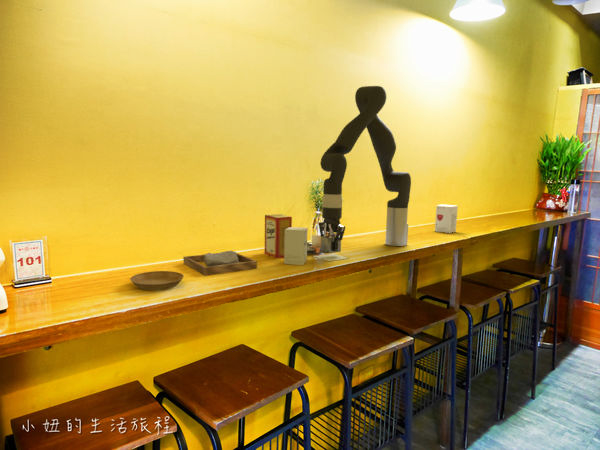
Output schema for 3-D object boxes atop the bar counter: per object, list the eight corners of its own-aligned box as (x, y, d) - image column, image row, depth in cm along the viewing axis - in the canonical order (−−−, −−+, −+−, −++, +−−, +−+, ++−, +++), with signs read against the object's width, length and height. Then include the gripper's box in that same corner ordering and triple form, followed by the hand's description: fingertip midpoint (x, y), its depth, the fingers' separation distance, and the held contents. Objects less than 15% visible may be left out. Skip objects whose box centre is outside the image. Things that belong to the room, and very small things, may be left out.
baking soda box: (291, 256, 164) (291, 215, 161) (276, 258, 160) (277, 216, 158) (278, 252, 171) (279, 213, 169) (264, 253, 168) (264, 214, 166)
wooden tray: (232, 257, 159) (232, 251, 159) (256, 268, 144) (257, 261, 144) (183, 263, 148) (183, 256, 148) (204, 275, 133) (204, 268, 133)
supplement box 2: (434, 231, 235) (435, 205, 232) (440, 230, 241) (442, 204, 239) (450, 233, 229) (452, 206, 227) (456, 231, 236) (458, 205, 233)
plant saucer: (155, 276, 132) (154, 268, 131) (194, 282, 126) (193, 274, 126) (118, 289, 118) (118, 280, 118) (160, 296, 113) (160, 286, 112)
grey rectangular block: (336, 249, 167) (336, 234, 166) (342, 251, 164) (343, 236, 163) (318, 252, 162) (318, 236, 161) (324, 253, 159) (325, 238, 158)
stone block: (240, 271, 148) (235, 259, 156) (241, 258, 146) (235, 247, 155) (206, 274, 144) (203, 262, 153) (206, 261, 142) (202, 250, 151)
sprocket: (332, 249, 176) (332, 234, 175) (315, 254, 164) (315, 238, 164) (303, 245, 184) (303, 230, 183) (285, 250, 172) (285, 234, 171)
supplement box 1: (303, 265, 150) (304, 230, 148) (283, 264, 151) (283, 229, 149) (307, 260, 157) (308, 227, 155) (288, 259, 158) (288, 226, 156)
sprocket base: (311, 247, 183) (311, 245, 183) (330, 252, 173) (330, 251, 173) (286, 250, 176) (286, 248, 176) (304, 255, 165) (304, 254, 165)
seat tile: (332, 253, 170) (332, 253, 170) (348, 258, 162) (348, 257, 162) (312, 256, 164) (312, 255, 164) (328, 261, 156) (328, 260, 156)
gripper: (352, 207, 157) (350, 252, 159) (328, 204, 168) (326, 246, 171) (336, 208, 153) (335, 254, 155) (313, 204, 164) (312, 247, 166)
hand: (330, 249), depth 163 cm, fingers closed on grey rectangular block, 4 cm apart
